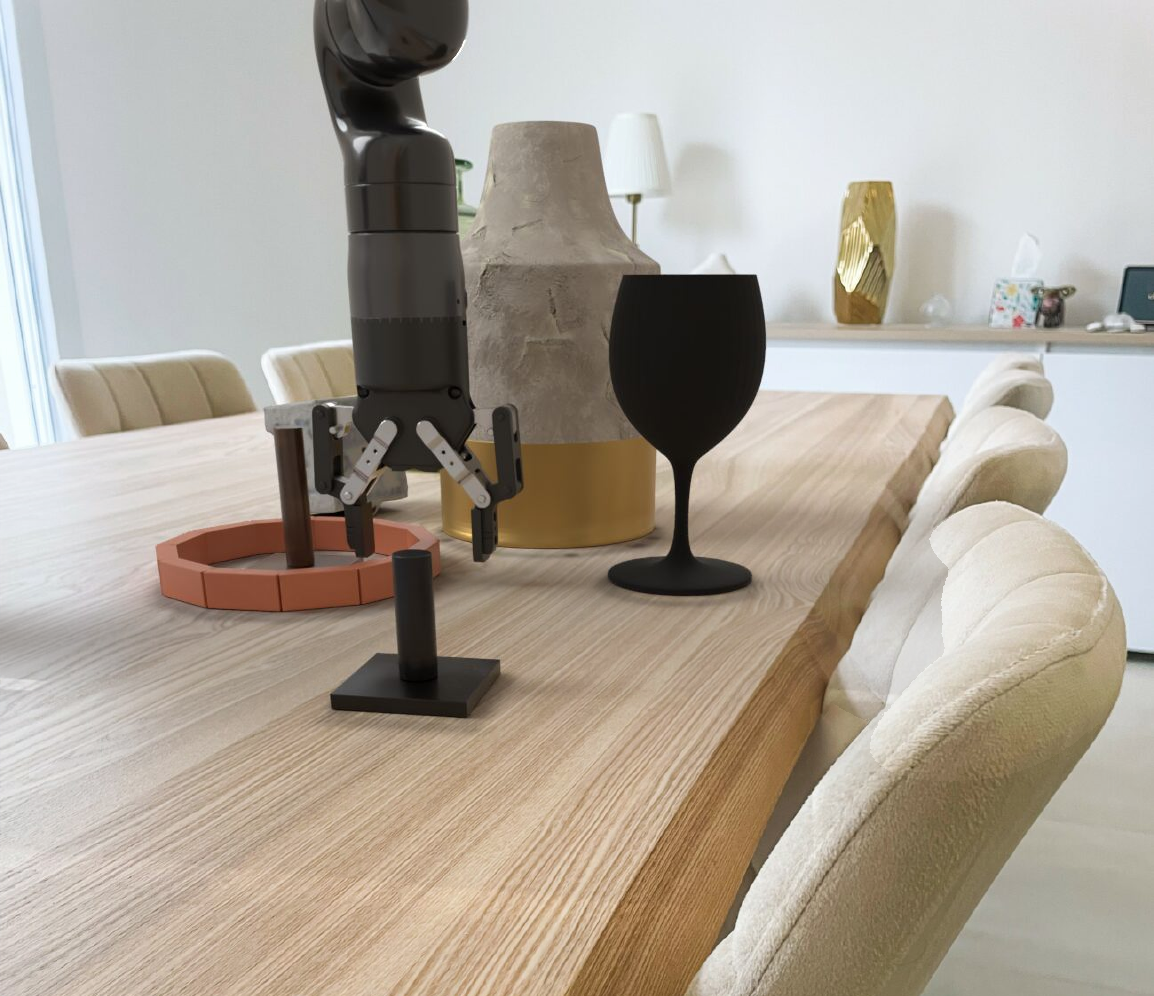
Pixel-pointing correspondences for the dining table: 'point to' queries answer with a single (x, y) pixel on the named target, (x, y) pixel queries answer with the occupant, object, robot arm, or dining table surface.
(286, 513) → the walnut post
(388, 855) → the dining table surface
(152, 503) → the dining table surface
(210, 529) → the ring
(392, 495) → the incense holder
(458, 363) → the robot arm
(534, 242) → the vase
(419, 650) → the metal post
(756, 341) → the wine glass
